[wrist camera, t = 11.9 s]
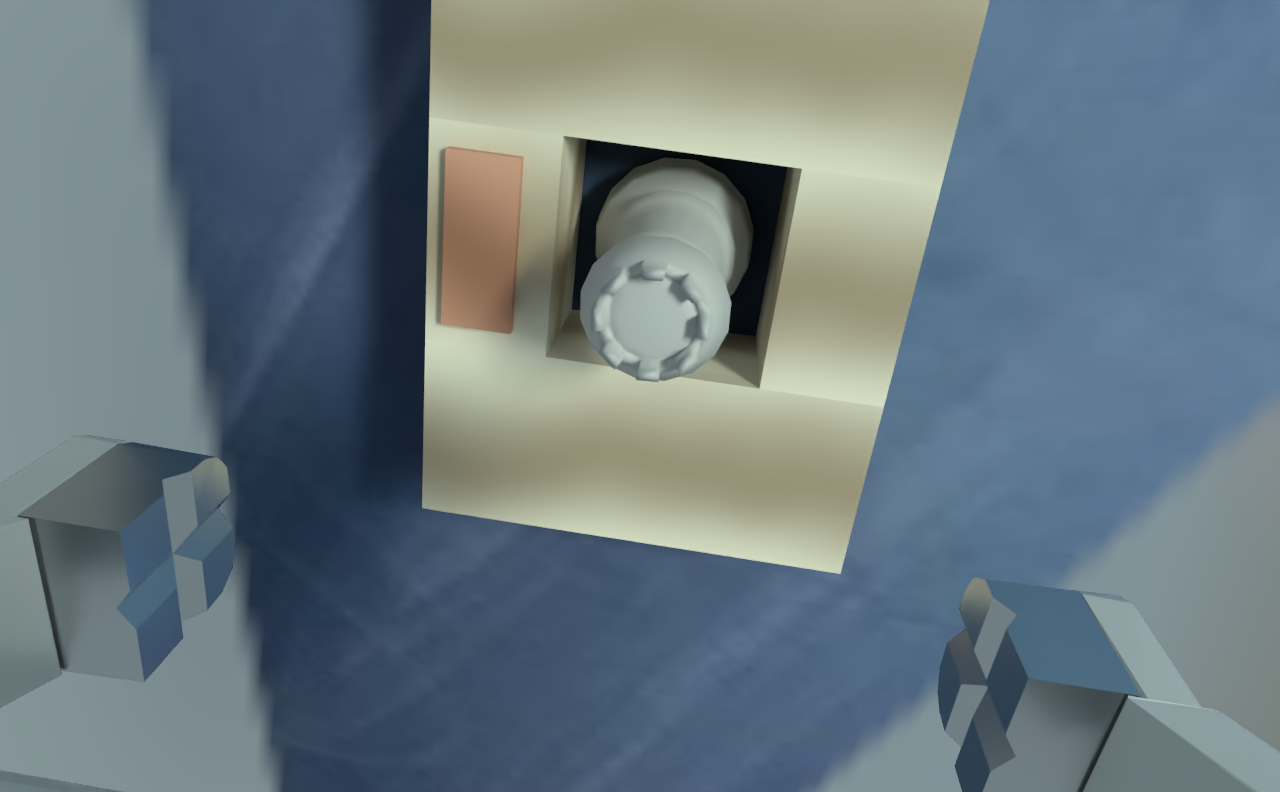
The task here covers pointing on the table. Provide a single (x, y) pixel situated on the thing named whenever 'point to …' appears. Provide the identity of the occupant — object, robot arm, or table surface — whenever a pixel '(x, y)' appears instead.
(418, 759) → the table surface
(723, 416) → the socket block
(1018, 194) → the table surface
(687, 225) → the rook chess piece
